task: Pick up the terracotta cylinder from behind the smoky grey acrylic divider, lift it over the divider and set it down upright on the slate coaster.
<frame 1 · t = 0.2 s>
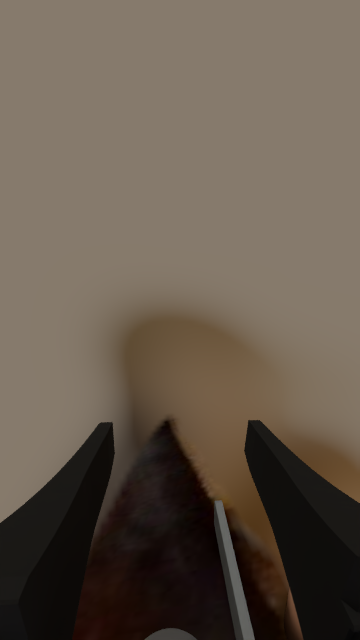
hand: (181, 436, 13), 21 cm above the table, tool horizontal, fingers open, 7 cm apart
terracotta cylinder: (312, 636, 20), on the table
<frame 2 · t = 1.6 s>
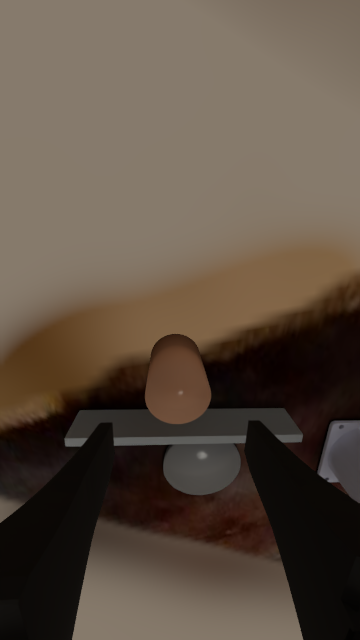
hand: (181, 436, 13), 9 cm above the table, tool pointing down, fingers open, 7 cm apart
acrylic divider: (184, 412, 23), on the table
slate coaster: (201, 459, 25), on the table
terracotta cylinder: (175, 356, 22), on the table
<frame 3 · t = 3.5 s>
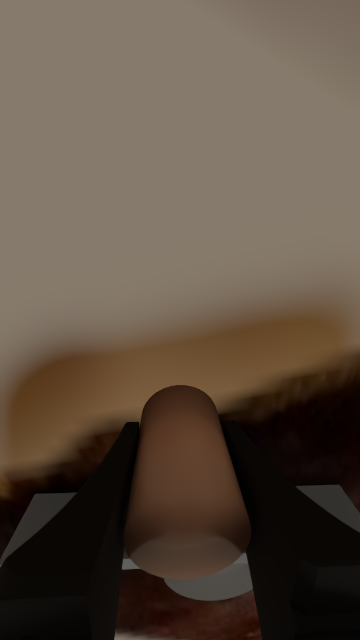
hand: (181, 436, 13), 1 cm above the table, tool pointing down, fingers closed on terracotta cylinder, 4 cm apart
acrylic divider: (192, 493, 16), on the table
slate coaster: (215, 552, 18), on the table
terracotta cylinder: (179, 418, 14), on the table, touching gripper
when the fingers open (4 cm above the table, at t = 7.5 s): terracotta cylinder drops 1 cm, resting on slate coaster.
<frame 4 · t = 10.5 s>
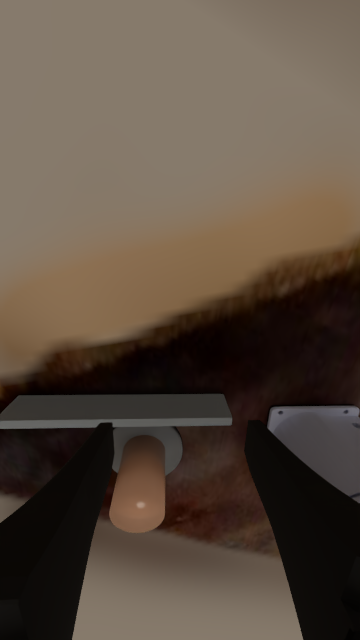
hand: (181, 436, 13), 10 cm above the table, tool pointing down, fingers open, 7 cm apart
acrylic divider: (123, 398, 24), on the table
slate coaster: (144, 445, 26), on the table
terracotta cylinder: (144, 452, 25), point 1 cm above the table, touching slate coaster
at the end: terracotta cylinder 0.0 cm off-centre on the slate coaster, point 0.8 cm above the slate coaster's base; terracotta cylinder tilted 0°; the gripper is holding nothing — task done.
